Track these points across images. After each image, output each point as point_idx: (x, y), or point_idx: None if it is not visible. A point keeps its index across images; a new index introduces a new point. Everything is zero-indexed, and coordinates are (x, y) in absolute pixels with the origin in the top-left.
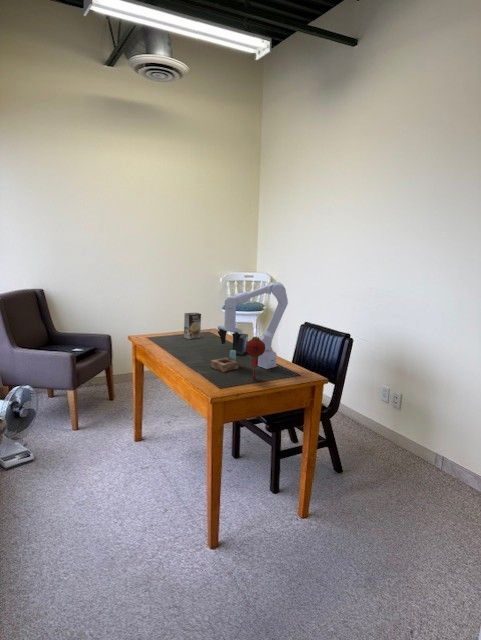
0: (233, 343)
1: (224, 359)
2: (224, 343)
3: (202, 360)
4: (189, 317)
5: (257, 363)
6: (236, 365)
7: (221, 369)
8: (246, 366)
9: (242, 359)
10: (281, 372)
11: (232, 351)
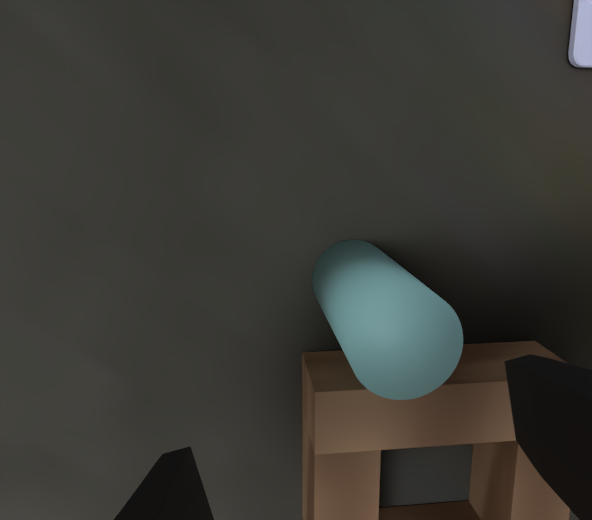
0: (574, 502)
1: (380, 461)
2: (196, 470)
3: (18, 512)
4: None
5: None
6: None
7: None
8: (544, 201)
9: (276, 12)
10: None
11: (431, 375)
